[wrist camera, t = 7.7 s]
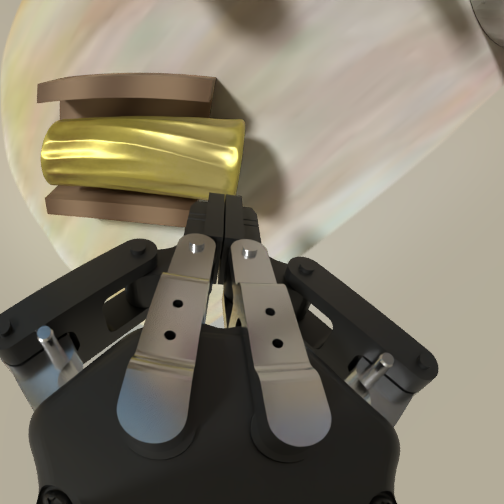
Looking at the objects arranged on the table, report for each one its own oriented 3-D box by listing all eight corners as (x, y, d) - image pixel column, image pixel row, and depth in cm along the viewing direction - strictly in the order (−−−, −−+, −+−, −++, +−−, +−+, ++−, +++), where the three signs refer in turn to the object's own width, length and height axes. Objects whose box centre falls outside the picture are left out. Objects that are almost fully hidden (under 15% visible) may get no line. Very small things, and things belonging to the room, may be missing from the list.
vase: (231, 223, 19) (47, 207, 17) (233, 177, 24) (79, 166, 22) (246, 140, 15) (30, 134, 13) (245, 109, 19) (72, 103, 17)
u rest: (216, 77, 19) (212, 80, 15) (198, 200, 25) (193, 228, 22) (66, 77, 16) (37, 84, 13) (69, 190, 23) (47, 213, 19)
